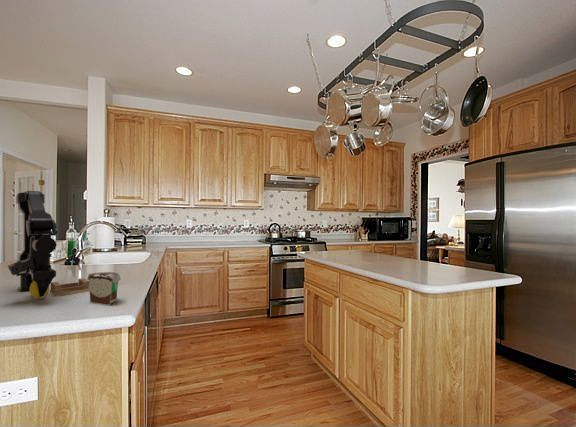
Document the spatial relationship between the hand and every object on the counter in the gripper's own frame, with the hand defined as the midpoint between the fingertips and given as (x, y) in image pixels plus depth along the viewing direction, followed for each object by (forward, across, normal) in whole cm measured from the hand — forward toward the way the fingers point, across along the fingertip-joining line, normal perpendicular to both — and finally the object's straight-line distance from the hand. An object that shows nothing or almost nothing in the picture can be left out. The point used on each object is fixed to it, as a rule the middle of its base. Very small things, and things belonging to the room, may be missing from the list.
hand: (39, 294), depth 108 cm
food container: (+2, +20, +16) cm, 26 cm away
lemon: (+2, 0, 0) cm, 2 cm away
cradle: (+2, -6, +10) cm, 12 cm away
